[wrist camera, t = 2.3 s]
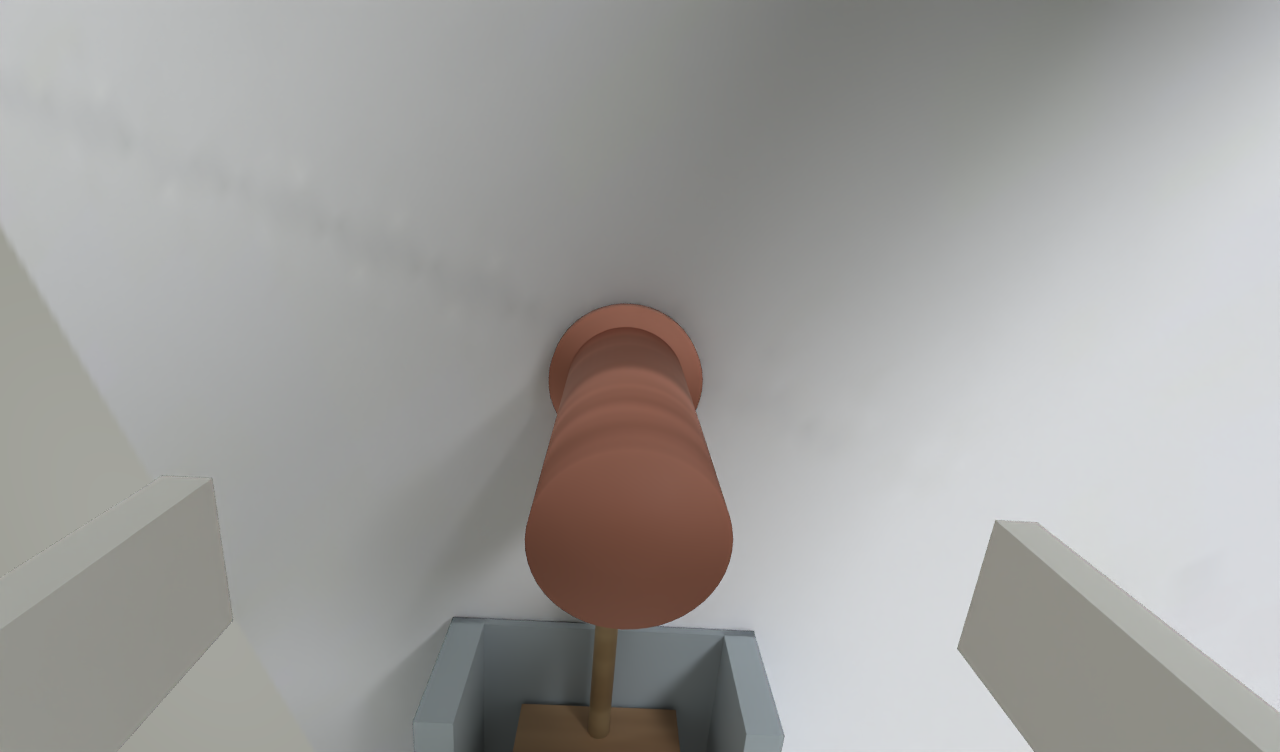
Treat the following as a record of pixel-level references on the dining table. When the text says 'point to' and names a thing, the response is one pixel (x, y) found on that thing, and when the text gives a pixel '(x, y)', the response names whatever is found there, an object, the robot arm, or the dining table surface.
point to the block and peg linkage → (623, 512)
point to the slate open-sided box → (561, 675)
